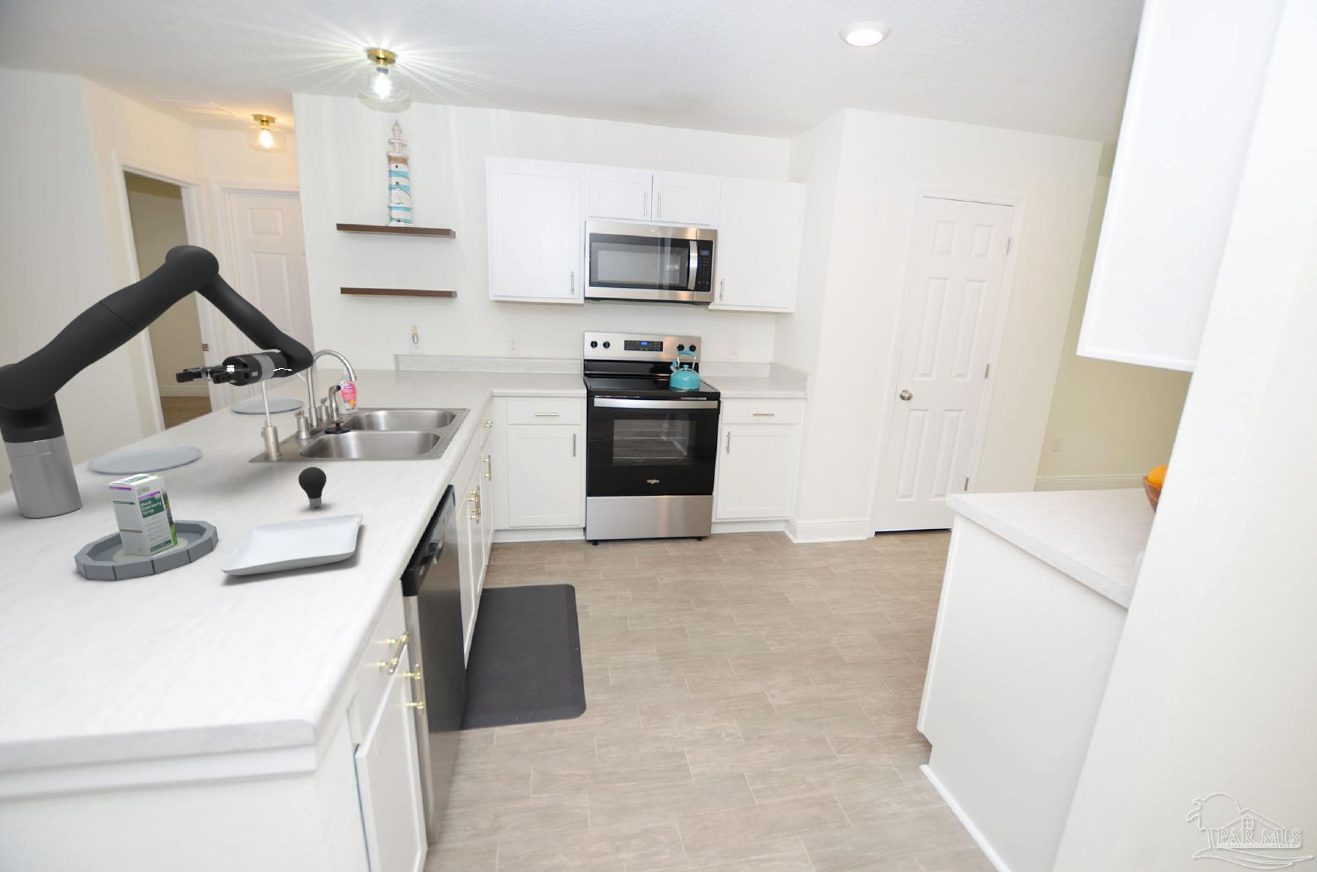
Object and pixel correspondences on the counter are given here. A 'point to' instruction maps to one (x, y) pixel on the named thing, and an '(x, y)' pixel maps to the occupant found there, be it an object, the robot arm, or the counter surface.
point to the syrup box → (143, 514)
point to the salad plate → (294, 544)
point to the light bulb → (313, 484)
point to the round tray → (115, 564)
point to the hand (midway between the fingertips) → (196, 378)
